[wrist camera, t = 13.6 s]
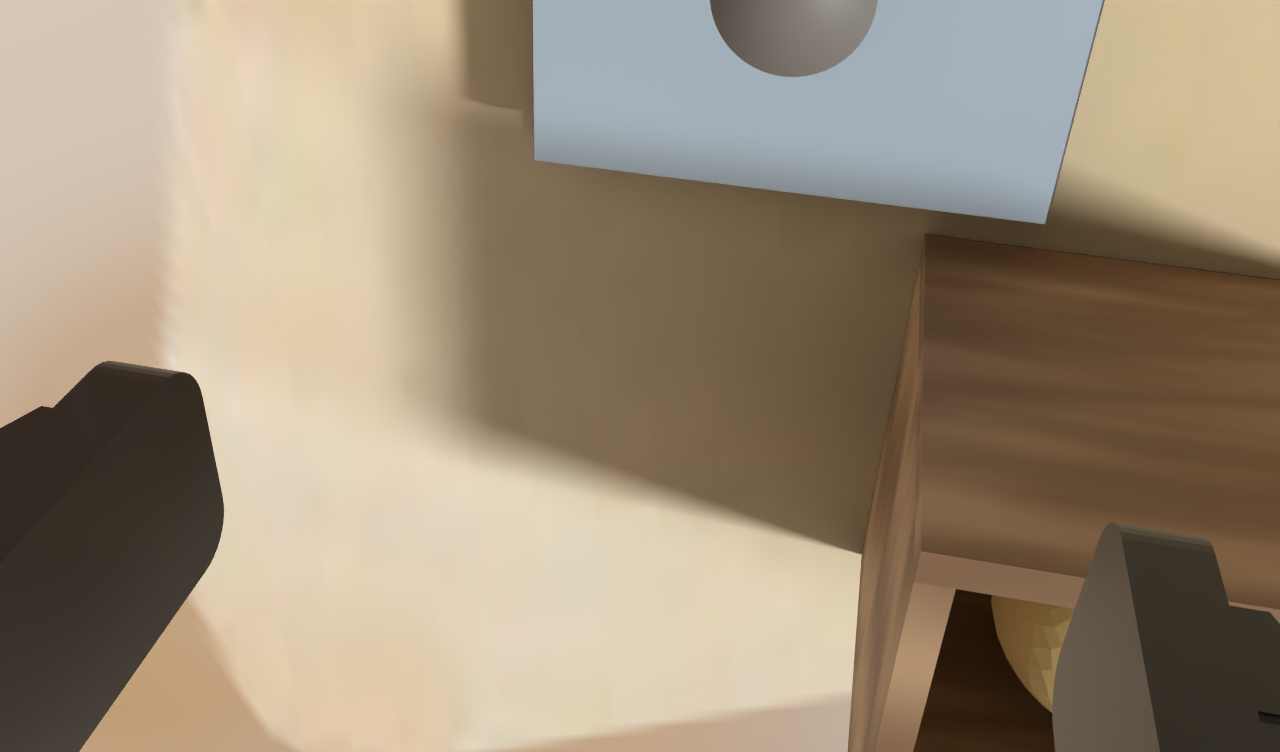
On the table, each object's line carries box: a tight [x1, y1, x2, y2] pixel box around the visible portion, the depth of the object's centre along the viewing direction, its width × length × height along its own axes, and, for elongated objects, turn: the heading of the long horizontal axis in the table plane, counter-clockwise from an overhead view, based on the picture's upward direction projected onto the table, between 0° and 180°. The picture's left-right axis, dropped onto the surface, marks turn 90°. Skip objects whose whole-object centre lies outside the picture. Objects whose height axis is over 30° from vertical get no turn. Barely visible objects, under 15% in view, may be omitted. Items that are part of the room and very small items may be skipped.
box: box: [848, 235, 1280, 752], centre depth 31 cm, size 12×12×13 cm
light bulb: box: [991, 595, 1075, 712], centre depth 32 cm, size 6×6×10 cm
